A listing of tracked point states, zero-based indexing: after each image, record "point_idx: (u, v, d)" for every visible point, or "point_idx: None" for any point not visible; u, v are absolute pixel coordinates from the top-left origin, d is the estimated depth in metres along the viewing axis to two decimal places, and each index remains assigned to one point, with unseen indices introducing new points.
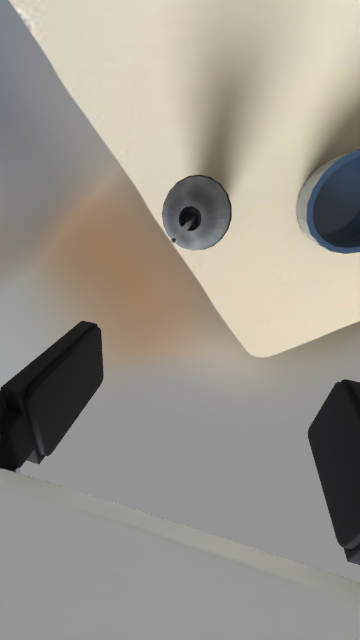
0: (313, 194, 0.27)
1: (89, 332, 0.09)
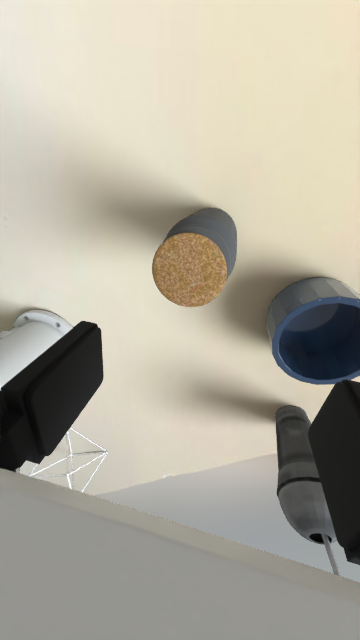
0: (305, 380, 0.27)
1: (89, 332, 0.09)
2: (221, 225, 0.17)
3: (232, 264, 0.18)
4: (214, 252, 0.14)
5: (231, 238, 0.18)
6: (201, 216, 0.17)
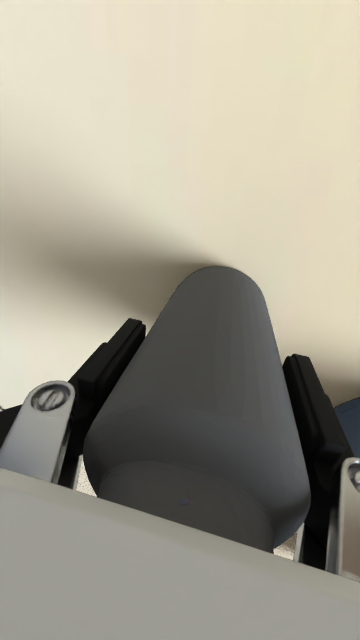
0: None
1: (138, 328, 0.10)
2: (270, 445, 0.05)
3: (295, 531, 0.06)
4: None
5: (302, 480, 0.05)
6: (197, 405, 0.05)
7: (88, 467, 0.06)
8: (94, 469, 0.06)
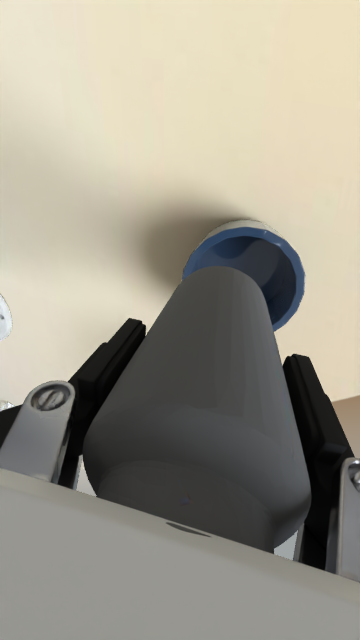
0: None
1: (138, 328, 0.10)
2: (270, 444, 0.05)
3: None
4: None
5: (302, 479, 0.05)
6: (197, 404, 0.05)
7: (88, 466, 0.06)
8: (94, 469, 0.06)
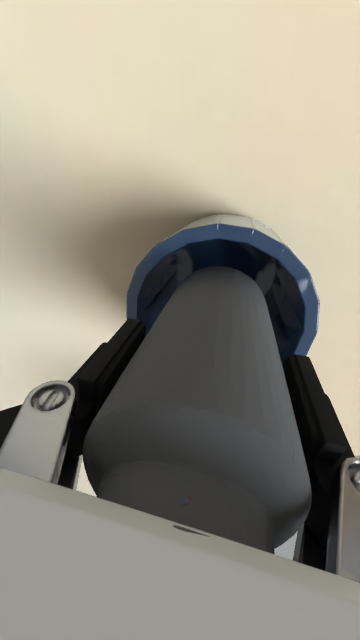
0: None
1: (137, 328, 0.10)
2: (270, 444, 0.05)
3: (295, 531, 0.06)
4: None
5: (303, 479, 0.05)
6: (197, 404, 0.05)
7: (88, 467, 0.06)
8: (94, 469, 0.06)
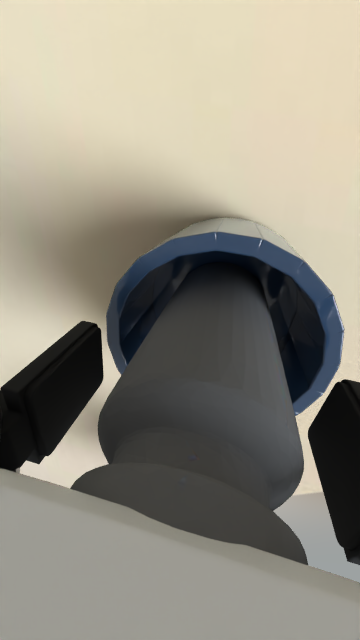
0: None
1: (89, 332, 0.09)
2: (267, 413, 0.05)
3: (289, 496, 0.06)
4: None
5: (295, 445, 0.06)
6: (202, 378, 0.05)
7: (103, 438, 0.07)
8: (109, 439, 0.06)
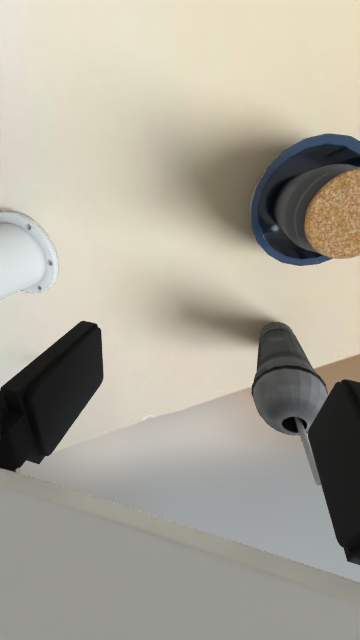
0: (288, 261, 0.24)
1: (89, 332, 0.09)
2: None
3: None
4: None
5: None
6: (343, 164, 0.16)
7: (295, 200, 0.17)
8: (299, 198, 0.17)
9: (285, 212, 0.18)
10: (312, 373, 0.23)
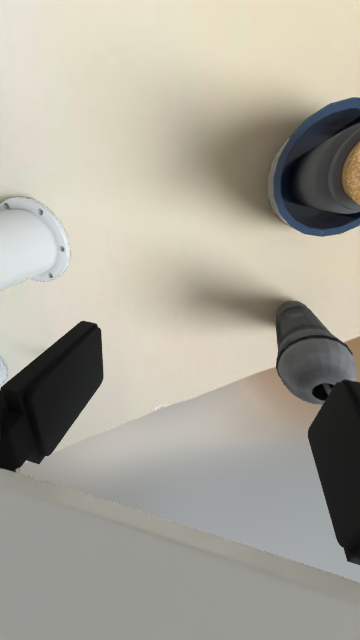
0: (310, 232, 0.24)
1: (89, 332, 0.09)
2: None
3: None
4: None
5: None
6: None
7: (327, 160, 0.17)
8: (332, 157, 0.17)
9: (316, 173, 0.18)
10: (339, 341, 0.23)
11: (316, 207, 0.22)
